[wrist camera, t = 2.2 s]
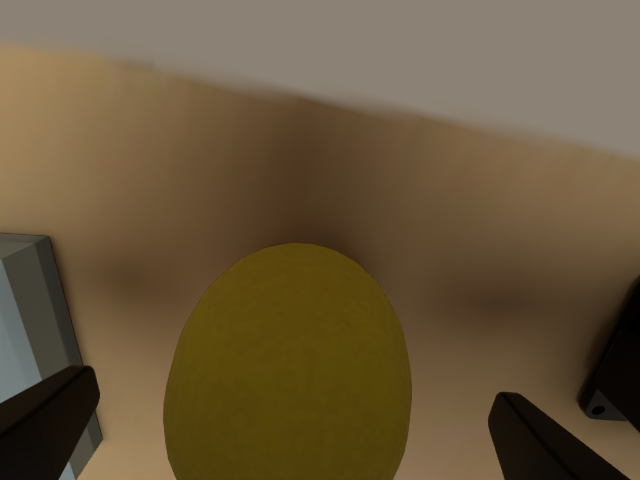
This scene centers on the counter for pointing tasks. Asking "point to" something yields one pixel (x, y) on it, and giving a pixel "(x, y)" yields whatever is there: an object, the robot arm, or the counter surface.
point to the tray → (37, 329)
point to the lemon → (289, 374)
